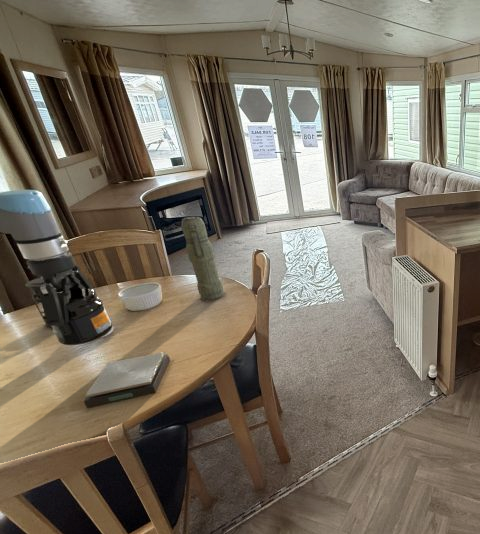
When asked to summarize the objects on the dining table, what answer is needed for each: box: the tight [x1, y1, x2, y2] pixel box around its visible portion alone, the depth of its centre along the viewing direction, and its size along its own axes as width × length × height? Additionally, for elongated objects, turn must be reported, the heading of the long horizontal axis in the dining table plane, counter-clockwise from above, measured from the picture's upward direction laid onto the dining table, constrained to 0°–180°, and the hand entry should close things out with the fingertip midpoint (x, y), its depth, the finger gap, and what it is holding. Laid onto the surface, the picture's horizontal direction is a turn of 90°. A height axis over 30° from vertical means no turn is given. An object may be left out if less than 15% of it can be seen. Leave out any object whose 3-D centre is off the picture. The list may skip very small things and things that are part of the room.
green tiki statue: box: [181, 215, 225, 302], centre depth 139 cm, size 9×12×35 cm
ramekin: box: [117, 282, 163, 312], centre depth 137 cm, size 13×13×7 cm
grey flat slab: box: [85, 351, 166, 398], centre depth 98 cm, size 14×14×1 cm
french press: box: [24, 266, 52, 329], centre depth 122 cm, size 12×9×23 cm
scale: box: [83, 353, 171, 409], centre depth 98 cm, size 15×15×2 cm
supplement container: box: [51, 289, 113, 346], centre depth 89 cm, size 10×10×12 cm
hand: (85, 331), depth 91 cm, fingers closed on supplement container, 11 cm apart
